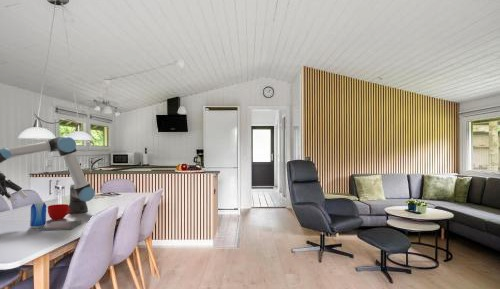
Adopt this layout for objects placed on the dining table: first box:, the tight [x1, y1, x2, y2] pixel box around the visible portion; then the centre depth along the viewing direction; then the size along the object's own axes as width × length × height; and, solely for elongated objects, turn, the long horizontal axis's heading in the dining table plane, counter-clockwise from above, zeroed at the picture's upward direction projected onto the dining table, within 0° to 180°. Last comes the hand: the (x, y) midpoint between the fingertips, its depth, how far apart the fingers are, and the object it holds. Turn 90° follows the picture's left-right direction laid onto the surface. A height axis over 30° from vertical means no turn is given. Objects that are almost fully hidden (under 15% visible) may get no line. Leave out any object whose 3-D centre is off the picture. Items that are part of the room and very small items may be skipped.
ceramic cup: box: [47, 203, 71, 221], centre depth 218 cm, size 13×17×10 cm
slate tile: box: [40, 220, 83, 231], centre depth 198 cm, size 18×18×2 cm
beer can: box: [29, 201, 47, 229], centre depth 196 cm, size 8×8×16 cm
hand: (20, 199), depth 194 cm, fingers open, 13 cm apart
